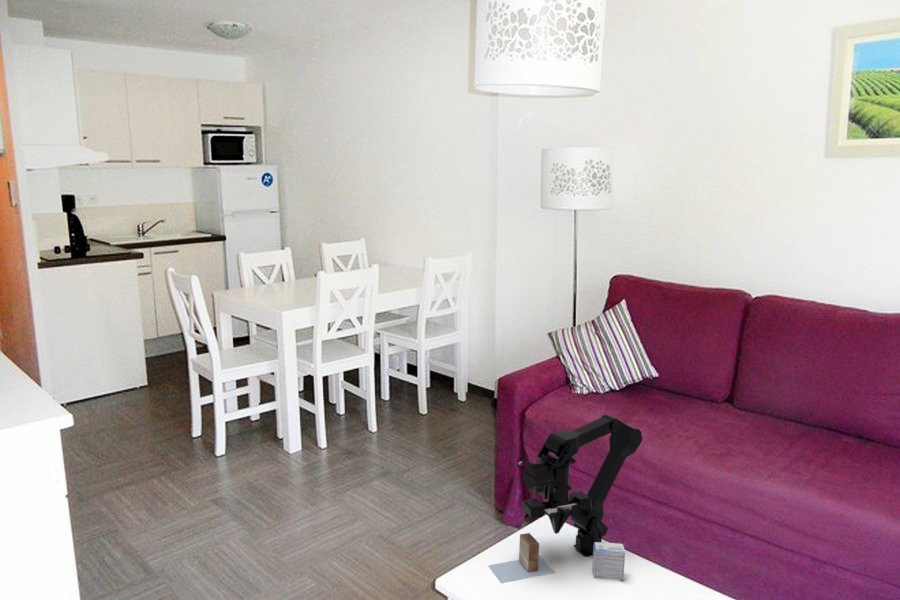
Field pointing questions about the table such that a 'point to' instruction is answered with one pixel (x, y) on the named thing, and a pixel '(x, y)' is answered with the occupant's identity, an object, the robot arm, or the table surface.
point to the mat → (518, 570)
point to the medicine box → (608, 561)
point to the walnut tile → (529, 552)
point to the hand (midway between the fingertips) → (556, 532)
